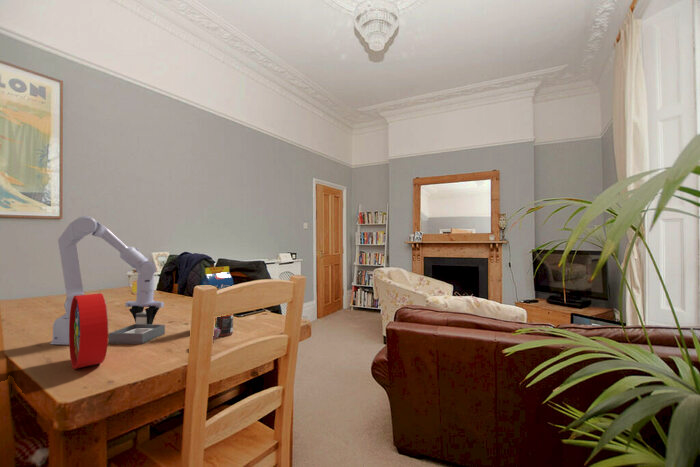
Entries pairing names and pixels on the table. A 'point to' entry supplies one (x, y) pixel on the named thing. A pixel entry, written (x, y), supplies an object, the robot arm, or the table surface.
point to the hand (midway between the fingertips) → (144, 325)
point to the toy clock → (88, 330)
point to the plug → (141, 318)
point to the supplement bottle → (225, 325)
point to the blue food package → (217, 278)
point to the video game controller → (216, 333)
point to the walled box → (136, 334)
